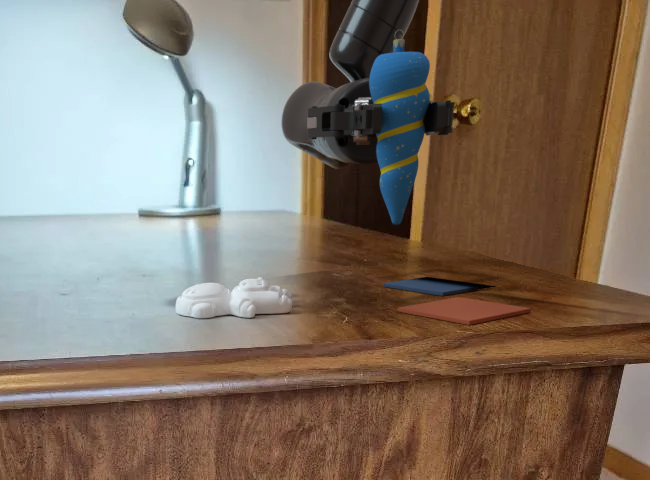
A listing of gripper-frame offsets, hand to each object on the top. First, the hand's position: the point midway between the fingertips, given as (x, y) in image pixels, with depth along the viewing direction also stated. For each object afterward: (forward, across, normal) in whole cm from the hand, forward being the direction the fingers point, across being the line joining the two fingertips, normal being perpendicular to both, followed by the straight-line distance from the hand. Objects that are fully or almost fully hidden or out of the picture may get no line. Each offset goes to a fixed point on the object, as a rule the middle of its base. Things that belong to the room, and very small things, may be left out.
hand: (409, 117), depth 65 cm
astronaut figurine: (-10, -14, +17) cm, 24 cm away
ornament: (-3, 0, +9) cm, 9 cm away
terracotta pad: (-4, +8, +17) cm, 19 cm away
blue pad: (-19, +11, +17) cm, 28 cm away
